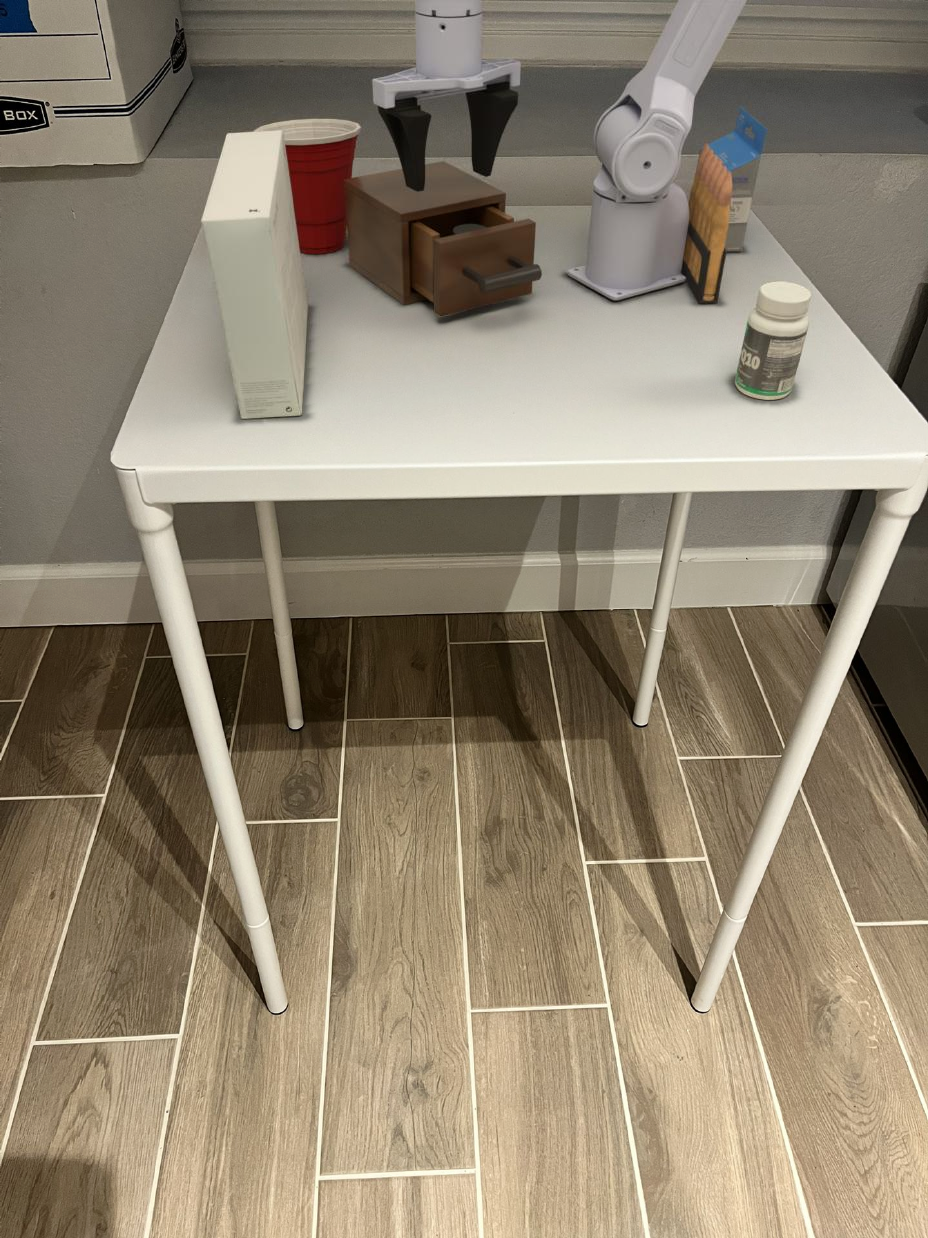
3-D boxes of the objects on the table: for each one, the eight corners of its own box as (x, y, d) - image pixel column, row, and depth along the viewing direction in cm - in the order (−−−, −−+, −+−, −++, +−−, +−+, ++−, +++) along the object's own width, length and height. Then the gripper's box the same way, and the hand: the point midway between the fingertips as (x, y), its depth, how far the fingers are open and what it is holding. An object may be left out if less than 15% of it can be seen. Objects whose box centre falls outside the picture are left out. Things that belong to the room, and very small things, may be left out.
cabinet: (503, 280, 98) (506, 192, 92) (403, 305, 93) (400, 213, 88) (444, 244, 105) (443, 160, 100) (349, 265, 101) (343, 178, 95)
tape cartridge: (686, 224, 110) (705, 105, 102) (719, 223, 111) (740, 105, 103) (709, 253, 104) (731, 129, 96) (744, 252, 104) (769, 128, 96)
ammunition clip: (717, 303, 94) (742, 174, 86) (698, 304, 94) (721, 174, 86) (693, 261, 102) (713, 139, 94) (676, 261, 102) (695, 139, 94)
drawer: (558, 309, 91) (564, 236, 86) (465, 334, 87) (465, 259, 82) (474, 258, 100) (475, 189, 96) (386, 278, 96) (382, 208, 91)
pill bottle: (729, 373, 83) (749, 278, 78) (784, 375, 83) (808, 279, 78) (739, 401, 80) (761, 302, 74) (797, 402, 80) (823, 303, 74)
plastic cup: (349, 220, 110) (341, 105, 103) (381, 253, 103) (375, 132, 95) (256, 234, 107) (240, 116, 99) (283, 268, 100) (268, 144, 92)
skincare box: (251, 309, 92) (226, 129, 82) (308, 307, 93) (290, 128, 82) (233, 421, 77) (198, 215, 66) (302, 418, 77) (278, 214, 66)
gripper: (401, 28, 76) (407, 207, 85) (545, 9, 82) (536, 177, 91) (355, 14, 80) (365, 185, 89) (495, -3, 86) (491, 159, 95)
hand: (449, 180), depth 90 cm, fingers open, 7 cm apart
